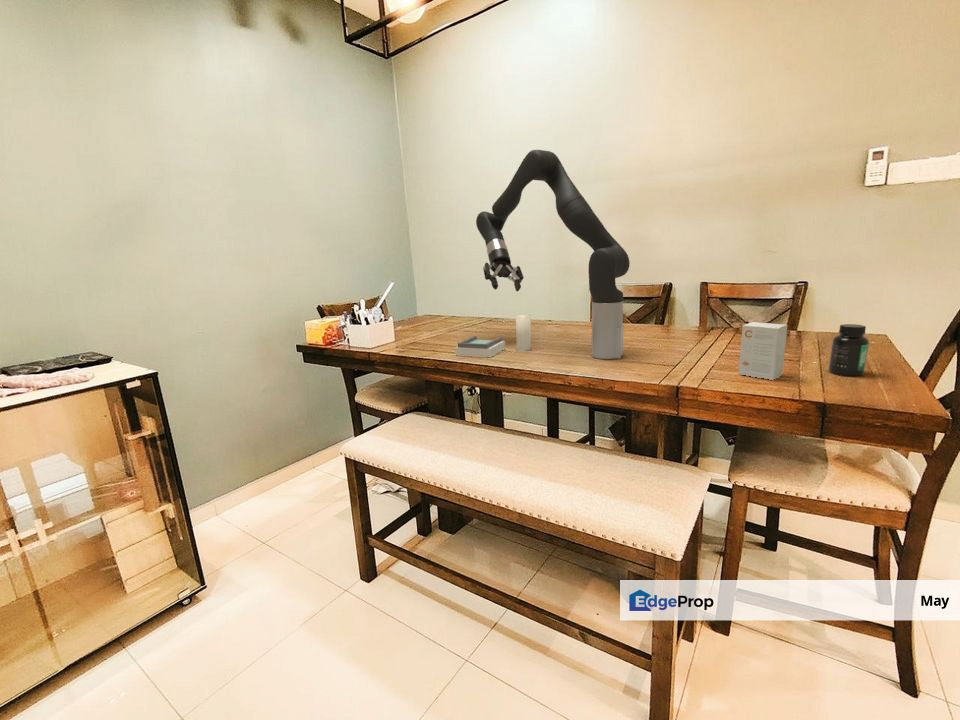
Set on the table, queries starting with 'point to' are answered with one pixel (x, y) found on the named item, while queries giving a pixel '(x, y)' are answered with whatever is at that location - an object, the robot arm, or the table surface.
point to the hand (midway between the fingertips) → (507, 289)
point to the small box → (762, 350)
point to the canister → (523, 332)
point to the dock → (480, 347)
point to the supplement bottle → (849, 351)
